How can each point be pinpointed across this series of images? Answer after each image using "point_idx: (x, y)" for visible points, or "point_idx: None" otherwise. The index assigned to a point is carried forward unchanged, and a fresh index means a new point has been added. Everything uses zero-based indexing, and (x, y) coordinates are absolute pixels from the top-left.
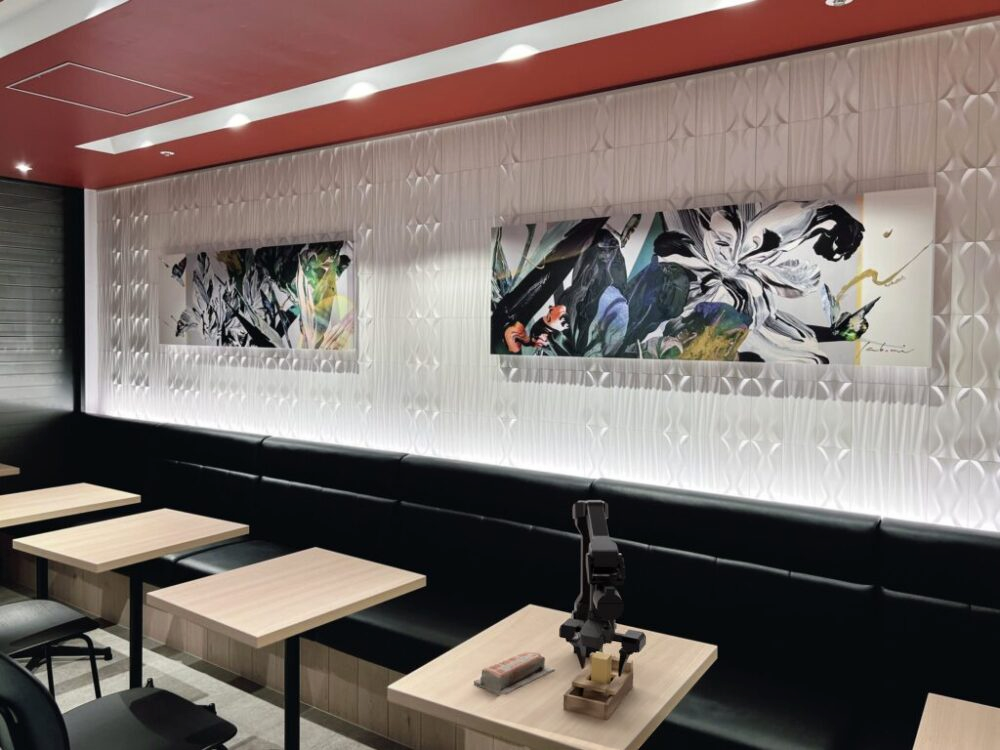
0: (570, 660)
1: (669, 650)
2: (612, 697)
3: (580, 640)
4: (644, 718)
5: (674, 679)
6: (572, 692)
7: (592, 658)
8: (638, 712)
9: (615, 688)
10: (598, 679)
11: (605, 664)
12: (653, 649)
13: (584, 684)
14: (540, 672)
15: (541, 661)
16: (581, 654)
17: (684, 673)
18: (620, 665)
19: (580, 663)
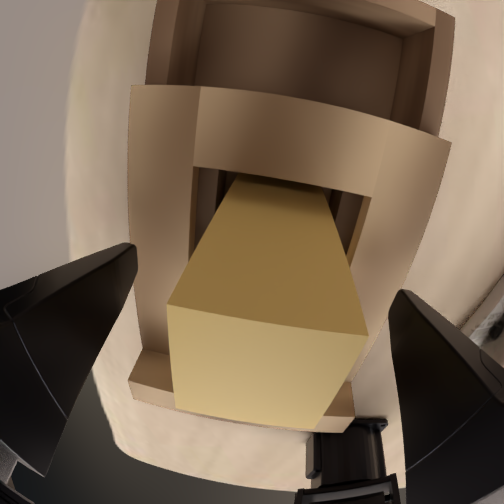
0: (390, 409)
1: (174, 454)
2: (155, 60)
3: (494, 473)
4: (74, 112)
5: (106, 375)
6: (420, 87)
7: (354, 323)
8: (101, 147)
9: (138, 127)
10: (279, 212)
11: (194, 270)
12: (202, 458)
13: (368, 115)
14: (496, 318)
15: (500, 354)
16: (453, 359)
17: (104, 396)
18: (64, 274)
19: (430, 308)
